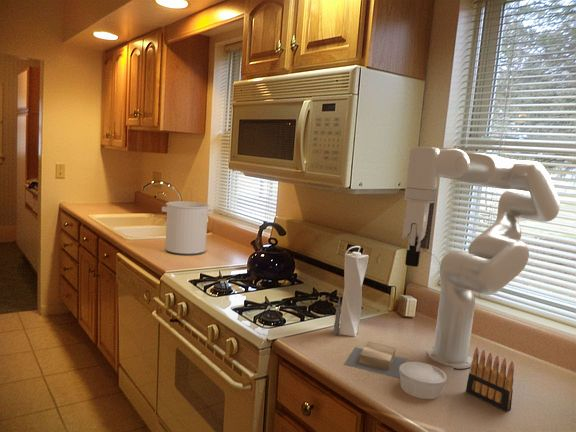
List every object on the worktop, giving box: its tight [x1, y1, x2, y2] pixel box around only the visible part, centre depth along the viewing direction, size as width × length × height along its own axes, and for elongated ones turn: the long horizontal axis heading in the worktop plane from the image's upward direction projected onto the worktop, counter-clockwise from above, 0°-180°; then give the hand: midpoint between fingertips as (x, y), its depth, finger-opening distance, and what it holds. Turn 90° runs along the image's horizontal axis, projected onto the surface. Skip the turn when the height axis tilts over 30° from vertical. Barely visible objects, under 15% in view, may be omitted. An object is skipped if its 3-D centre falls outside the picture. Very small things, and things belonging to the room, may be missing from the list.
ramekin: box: [399, 361, 448, 400], centre depth 117 cm, size 11×11×5 cm
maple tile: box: [359, 341, 397, 370], centre depth 132 cm, size 2×8×10 cm
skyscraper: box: [333, 245, 370, 338], centre depth 148 cm, size 8×8×28 cm
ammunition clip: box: [465, 346, 515, 413], centre depth 114 cm, size 11×2×12 cm, turn 39°
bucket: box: [161, 200, 214, 256], centre depth 243 cm, size 26×22×24 cm
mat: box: [343, 346, 408, 379], centre depth 131 cm, size 13×15×1 cm
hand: (411, 265), depth 124 cm, fingers closed
